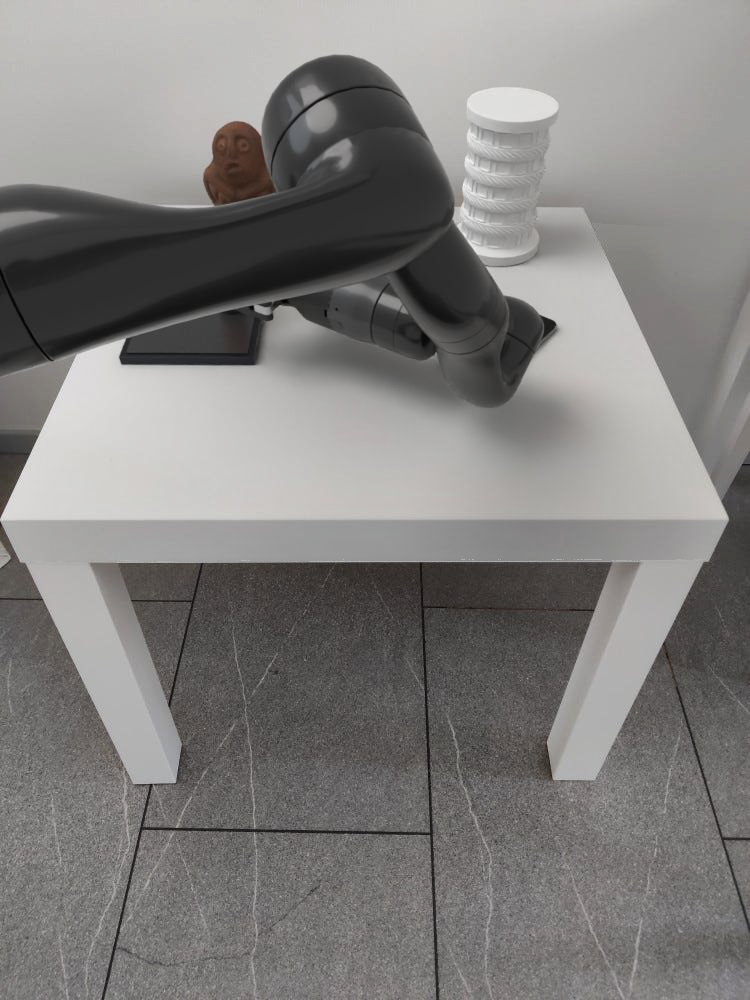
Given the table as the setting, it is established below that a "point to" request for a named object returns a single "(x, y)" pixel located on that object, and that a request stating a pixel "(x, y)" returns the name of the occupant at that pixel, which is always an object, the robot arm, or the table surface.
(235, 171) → the figurine
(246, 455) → the table surface
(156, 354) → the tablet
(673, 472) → the table surface
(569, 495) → the table surface
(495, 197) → the decorative container
